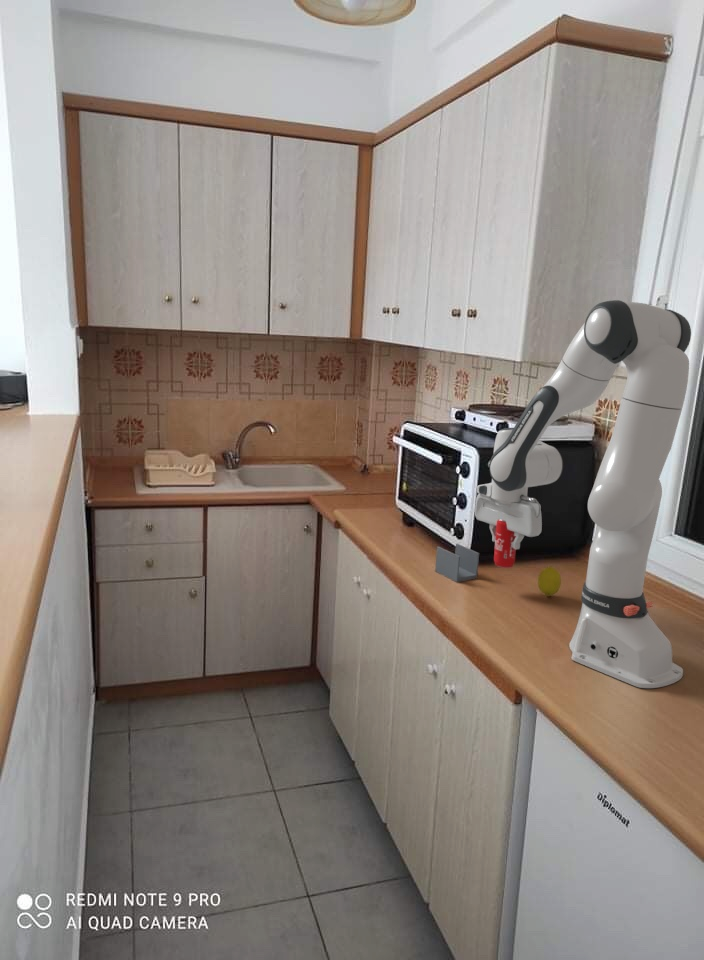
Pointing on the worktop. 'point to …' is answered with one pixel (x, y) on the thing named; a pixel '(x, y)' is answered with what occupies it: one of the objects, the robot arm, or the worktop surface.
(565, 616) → the worktop surface
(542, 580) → the lemon
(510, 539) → the beverage can
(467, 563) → the bracket
